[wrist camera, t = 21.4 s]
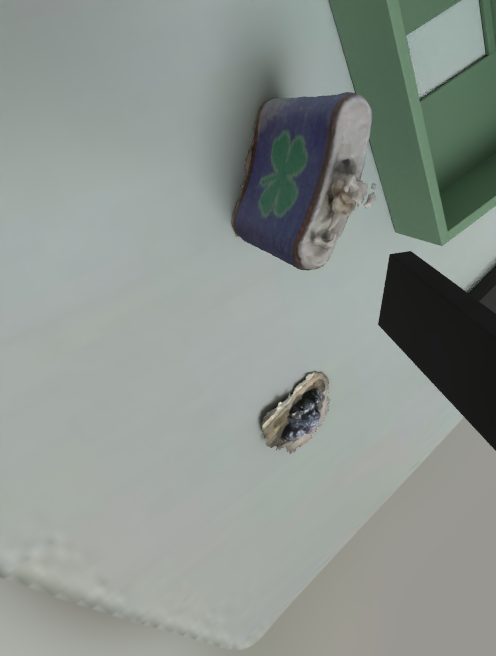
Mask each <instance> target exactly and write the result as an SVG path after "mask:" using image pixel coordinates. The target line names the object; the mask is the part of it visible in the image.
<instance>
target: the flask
mask: <svg viewBox="0 0 496 656" xmlns="http://www.w3.org/2000/svg"><path fill="white" fill-rule="evenodd" d="M371 123H372V109H371V107H370V105H369V103H368V101H367V100H366V99H365V98H364V97H363V96H361V95H359V94H355V93H349V92H346V93H342V94H339V95H331V96H318V97H298V98H273V99H271V100H269V101H267V102H266V103H265V104H264V105H263V106H262V107H261V110H260V112H259V113H258V116H257V119H256V121H255V123H254V128H253V129H254V130H255V136H254V139H253V142H252V143H253V144H252V146H251V150H249V152H248V157H247V158H246V164H245V171H246V173H245V174H246V180H245V183H244V184H243V185H240V186H241V193H242V194H241V198H240V199H239V201H238V202H237V203H236V204H237V205H236V210H235V212H234V215H233V219H232V221H231V222H232V226H233V229H234V231H235V233H236V236H240V237H241V238H242V239H243V240H244V241H246V242H247V243H250V244H252V245H254V246H256V247H258V248H260V249H261V250H264V251H266V252H268V253H270V254H272V255H273V256H276V257H278V258H279V259H281V260H283V261H285V262H287V263H289V264H291V265H293V266H294V267H296V268H298V269H300V270H311V269H317V268H320V267H322V266H323V265H324V264H325V263H326V262H327V261H328V260H329V258H330V256H331V254H332V252H333V249H334V247H335V244H336V242H337V240H338V238H339V237H340V235H341V233H342V231H343V229H344V226H345V224H346V222H347V219H348V216H349V215H350V214H351V213H352V211H354V210H355V206H356V202H357V204H358V206H359V205H360V204H361V203H362V202H363V200H364V196H365V195H366V194H367V184H366V183H363V182H362V181H361V180H360V179H361V175H362V170H363V167H364V163H365V157H366V151H367V146H368V142H369V137H370V128H371ZM375 187H376V184H374V183H373V184H372V187H371V188H372V189H375ZM375 197H376V196H375V194H374V192H373V193H371V194H369V196H368V199H367V202H366V203H365V204H364V207H365V208H366V209H367V208H370V207H371V205H372V204H373V202H374V201H375Z"/></svg>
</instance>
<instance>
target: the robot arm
mask: <svg viewBox="0 0 496 656" xmlns="http://www.w3.org/2000/svg"><path fill="white" fill-rule="evenodd" d="M378 325H379V326H380V327H381V328H382V329H383V330H384V331H385V332H386V333H387V335H388V336H389V337H390V338H391V339H392V340H393V341H394V342H395V343H396V344H397V345H398V346H399V347H400V348H401V350H402V351H403V352H404V353H405V354H406V355H407V356H408V357H409V358H410V359H411V360H412V361H413V362H414V363H415V365H416V366H417V367H418V368H419V369H420V370H421V371H422V372H423V373H424V374H425V375H426V376H427V377H428V379H429V380H430V381H431V382H432V383H433V384H434V385H435V386H436V387H437V388H438V389H439V390H440V391H441V392H442V394H443V395H444V396H445V397H446V398H447V399H448V400H449V401H450V402H451V403H452V404H453V405H454V406H455V408H456V409H457V410H458V411H459V412H460V413H461V414H462V415H463V416H464V417H465V418H466V419H467V420H468V421H469V423H470V424H471V425H472V426H473V427H474V428H475V429H476V430H477V431H478V432H479V433H480V434H481V435H482V436H483V438H484V439H485V440H486V441H487V442H488V443H489V444H490V445H491V446H492V447H493V448H494V449H495V450H496V313H494V312H493V311H491V310H490V309H489V308H487V307H486V306H485V305H483V304H482V303H481V302H479V301H478V300H476V299H475V298H474V297H472V296H471V295H470V294H468V293H467V292H466V291H464V290H463V289H462V288H460V287H459V286H457V285H456V284H455V283H453V282H452V281H451V280H449V279H448V278H447V277H445V276H444V275H442V274H441V273H440V272H438V271H437V270H436V269H434V268H433V267H432V266H430V265H429V264H428V263H426V262H425V261H423V260H422V259H421V258H419V257H418V256H417V255H415V254H414V253H413V252H411V251H409V252H402V253H395V254H390V256H389V263H388V269H387V275H386V281H385V287H384V293H383V299H382V305H381V311H380V317H379V323H378Z"/></svg>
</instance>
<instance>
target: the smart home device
mask: <svg viewBox="0 0 496 656" xmlns="http://www.w3.org/2000/svg"><path fill="white" fill-rule="evenodd" d="M469 294H470V295H471V296H472V297H474V298H475V299H476V300H478V301H479V302H481V303H482V304H483V305H485V306H486V307H487V308H489V309H490V310H491V311H493V312H494V313H496V267H495V268H494V269H493V270H492V271H491V272H490V273H489V274H488V275H487V276H486V277H485V278H484V279H483V280H482V281H481V282H480V283H479V284H478V285H477V286H476V287H475V288H474V289H473V290H472V291H471V292H470V293H469Z"/></svg>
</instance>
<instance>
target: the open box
mask: <svg viewBox="0 0 496 656" xmlns="http://www.w3.org/2000/svg"><path fill="white" fill-rule="evenodd" d="M459 1H461V0H329V2H330V5H331V8H332V12H333V15H334V19H335V22H336V26H337V29H338V33H339V36H340V40H341V43H342V47H343V50H344V54H345V57H346V61H347V64H348V68H349V71H350V75H351V78H352V82H353V85H354V89H355V92H356V94H359V95H361V96H363V97H364V98H365V99H366V100H367V101H368V103H369V105H370V107H371V109H372V123H371V128H370V137H369V141H370V144H371V148H372V151H373V155H374V158H375V162H376V165H377V169H378V172H379V176H380V179H381V183H382V186H383V190H384V193H385V197H386V200H387V204H388V207H389V211H390V214H391V218H392V221H393V225H394V228H395V232H396V233H399V234H403V235H406V236H410V237H413V238H417V239H420V240H423V241H427V242H430V243H434V244H437V245H441V246H443V245H444V244H445V243H447V242H448V241H449V240H451V239H452V238H453V237H455V236H456V235H457V234H459V233H460V232H461V231H463V230H464V229H465V228H467V227H468V226H469V225H471V224H472V223H473V222H475V221H476V220H477V219H479V218H480V217H481V216H483V215H484V214H485V213H487V212H488V211H489V210H491V209H492V208H493V207H495V206H496V0H479V1H480V9H481V17H482V25H483V33H484V40H485V48H486V56H485V57H483V58H482V59H480V60H479V61H477V62H476V63H475V64H473V65H472V66H470V67H469V68H467V69H466V70H464V71H463V72H461V73H460V74H458V75H457V76H455V77H454V78H452V79H451V80H449V81H448V82H446V83H445V84H443V85H442V86H440V87H439V88H437V89H436V90H435V91H433V92H432V93H430V94H429V95H427V96H426V97H424V98H423V99H421V100H420V99H419V95H418V90H417V85H416V81H415V76H414V71H413V67H412V62H411V57H410V52H409V48H408V43H407V38H406V35H407V34H409V33H411V32H412V31H414V30H415V29H417V28H418V27H420V26H422V25H423V24H425V23H426V22H428V21H429V20H431V19H432V18H434V17H436V16H437V15H439V14H440V13H442V12H443V11H445V10H446V9H448V8H450V7H451V6H453V5H454V4H456V3H457V2H459Z"/></svg>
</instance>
